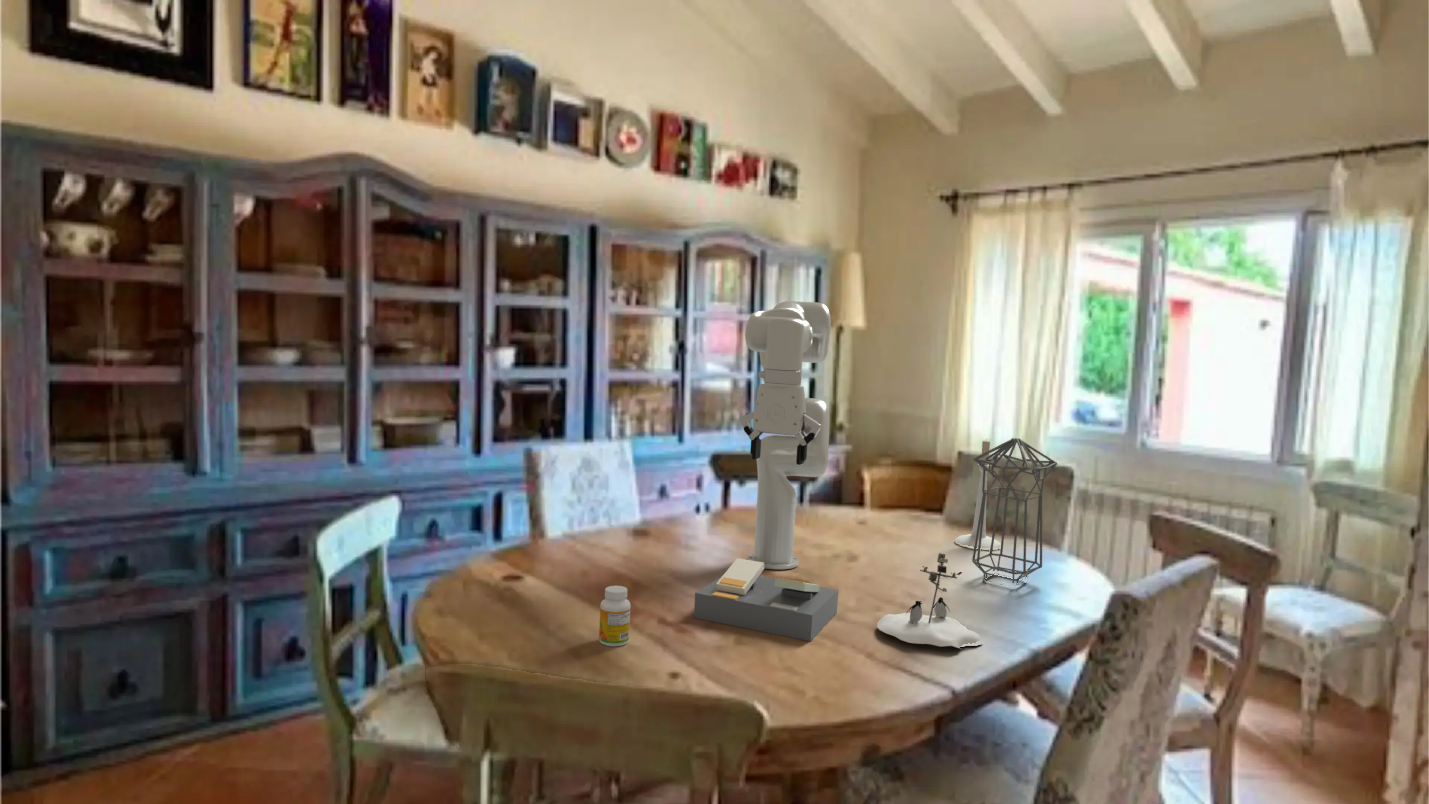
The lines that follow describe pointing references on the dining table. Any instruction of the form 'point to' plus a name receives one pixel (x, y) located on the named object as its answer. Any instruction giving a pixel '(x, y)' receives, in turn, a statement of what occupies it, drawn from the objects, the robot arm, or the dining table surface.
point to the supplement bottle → (614, 617)
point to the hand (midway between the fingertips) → (777, 461)
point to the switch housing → (769, 608)
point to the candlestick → (971, 538)
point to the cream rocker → (740, 576)
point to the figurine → (929, 620)
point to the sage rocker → (796, 585)
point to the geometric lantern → (1007, 447)
